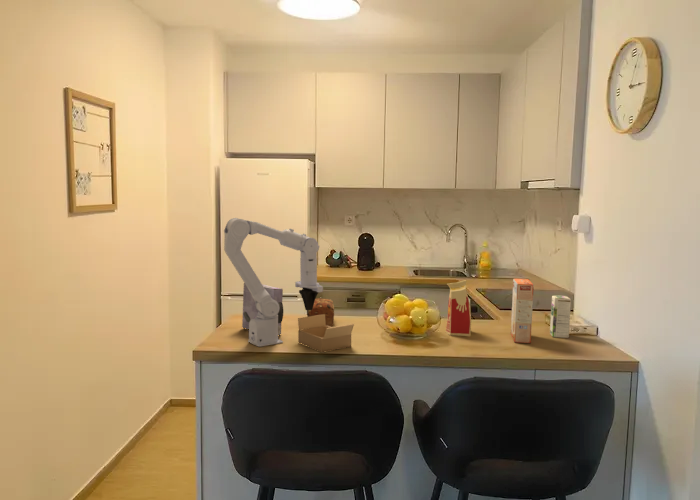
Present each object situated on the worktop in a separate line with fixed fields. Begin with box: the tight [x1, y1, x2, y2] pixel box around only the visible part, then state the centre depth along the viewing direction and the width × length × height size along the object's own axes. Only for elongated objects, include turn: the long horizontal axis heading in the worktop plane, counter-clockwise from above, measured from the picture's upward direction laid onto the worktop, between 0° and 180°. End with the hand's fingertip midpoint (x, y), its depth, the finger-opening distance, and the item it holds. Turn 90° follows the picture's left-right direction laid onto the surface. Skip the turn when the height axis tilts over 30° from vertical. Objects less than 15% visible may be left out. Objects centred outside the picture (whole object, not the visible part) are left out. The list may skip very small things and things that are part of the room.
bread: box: [306, 297, 335, 327], centre depth 216 cm, size 19×11×10 cm, turn 3°
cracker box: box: [510, 278, 535, 344], centre depth 196 cm, size 14×6×21 cm, turn 168°
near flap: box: [323, 323, 355, 339], centre depth 179 cm, size 11×4×1 cm
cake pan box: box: [241, 282, 284, 335], centre depth 201 cm, size 19×5×18 cm, turn 47°
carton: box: [297, 326, 352, 353], centre depth 185 cm, size 12×14×4 cm
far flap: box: [297, 314, 326, 330], centre depth 191 cm, size 11×4×1 cm
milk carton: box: [445, 279, 472, 337], centre depth 204 cm, size 9×9×20 cm
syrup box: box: [549, 295, 572, 339], centre depth 201 cm, size 6×6×14 cm
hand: (308, 309), depth 193 cm, fingers closed
